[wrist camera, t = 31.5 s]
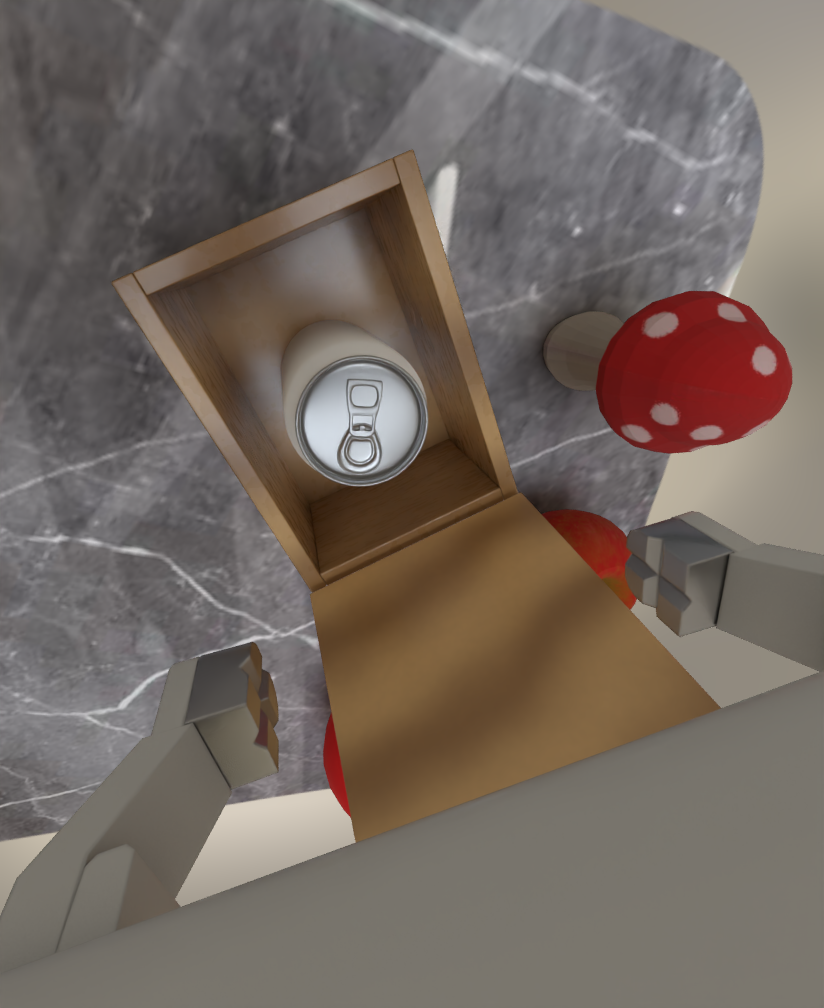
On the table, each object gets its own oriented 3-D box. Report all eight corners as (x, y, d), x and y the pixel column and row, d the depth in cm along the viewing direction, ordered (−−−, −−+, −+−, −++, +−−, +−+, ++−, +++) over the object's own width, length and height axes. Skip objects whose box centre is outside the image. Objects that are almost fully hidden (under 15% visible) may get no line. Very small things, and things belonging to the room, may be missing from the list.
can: (280, 420, 31) (283, 496, 20) (280, 313, 28) (283, 337, 18) (379, 424, 33) (428, 496, 22) (387, 323, 30) (448, 350, 19)
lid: (398, 1078, 12) (450, 1078, 15) (844, 839, 12) (809, 884, 15) (309, 593, 26) (345, 642, 29) (521, 491, 26) (535, 550, 29)
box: (162, 277, 27) (109, 282, 18) (370, 186, 27) (413, 148, 19) (303, 513, 35) (311, 593, 26) (459, 439, 36) (518, 493, 27)
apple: (598, 511, 42) (692, 581, 33) (537, 584, 44) (608, 670, 34) (533, 464, 38) (618, 527, 29) (469, 545, 40) (529, 630, 31)
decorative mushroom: (656, 296, 35) (886, 313, 22) (617, 413, 38) (796, 488, 25) (534, 273, 32) (715, 276, 19) (505, 401, 35) (640, 479, 22)
